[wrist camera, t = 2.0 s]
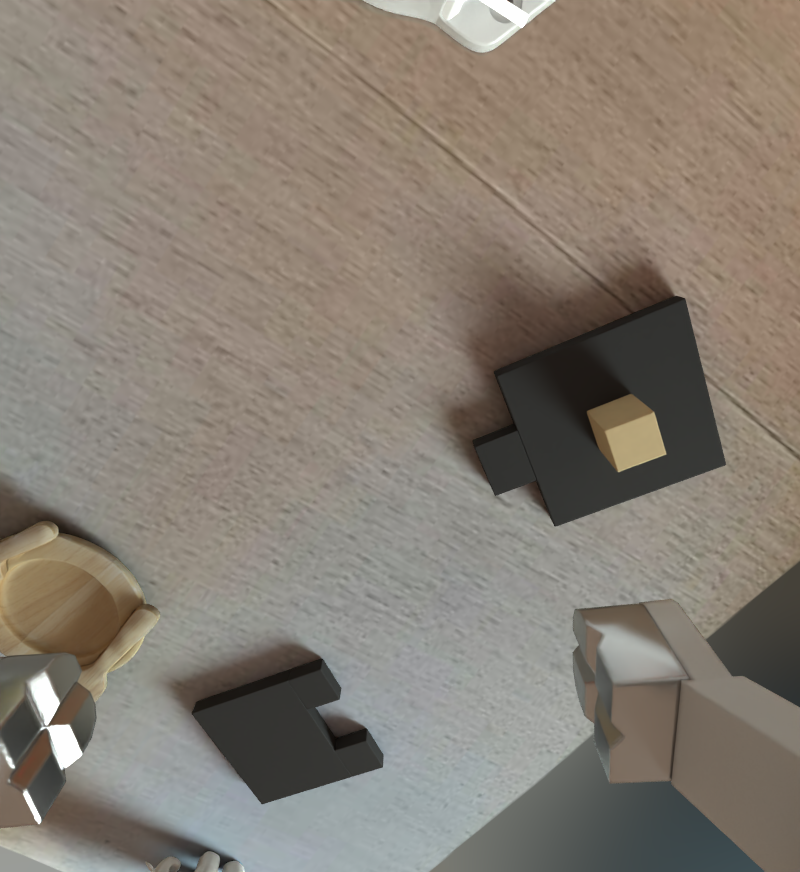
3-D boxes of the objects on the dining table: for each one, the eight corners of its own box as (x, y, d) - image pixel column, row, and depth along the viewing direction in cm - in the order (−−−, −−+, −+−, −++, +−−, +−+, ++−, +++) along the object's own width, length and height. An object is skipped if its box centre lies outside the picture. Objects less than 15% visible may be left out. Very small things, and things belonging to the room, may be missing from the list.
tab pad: (676, 295, 34) (716, 307, 30) (717, 458, 38) (757, 489, 34) (450, 388, 37) (456, 412, 32) (511, 533, 41) (524, 571, 36)
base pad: (322, 658, 45) (320, 669, 44) (383, 754, 49) (383, 767, 48) (196, 701, 47) (191, 713, 46) (264, 791, 51) (261, 804, 50)
